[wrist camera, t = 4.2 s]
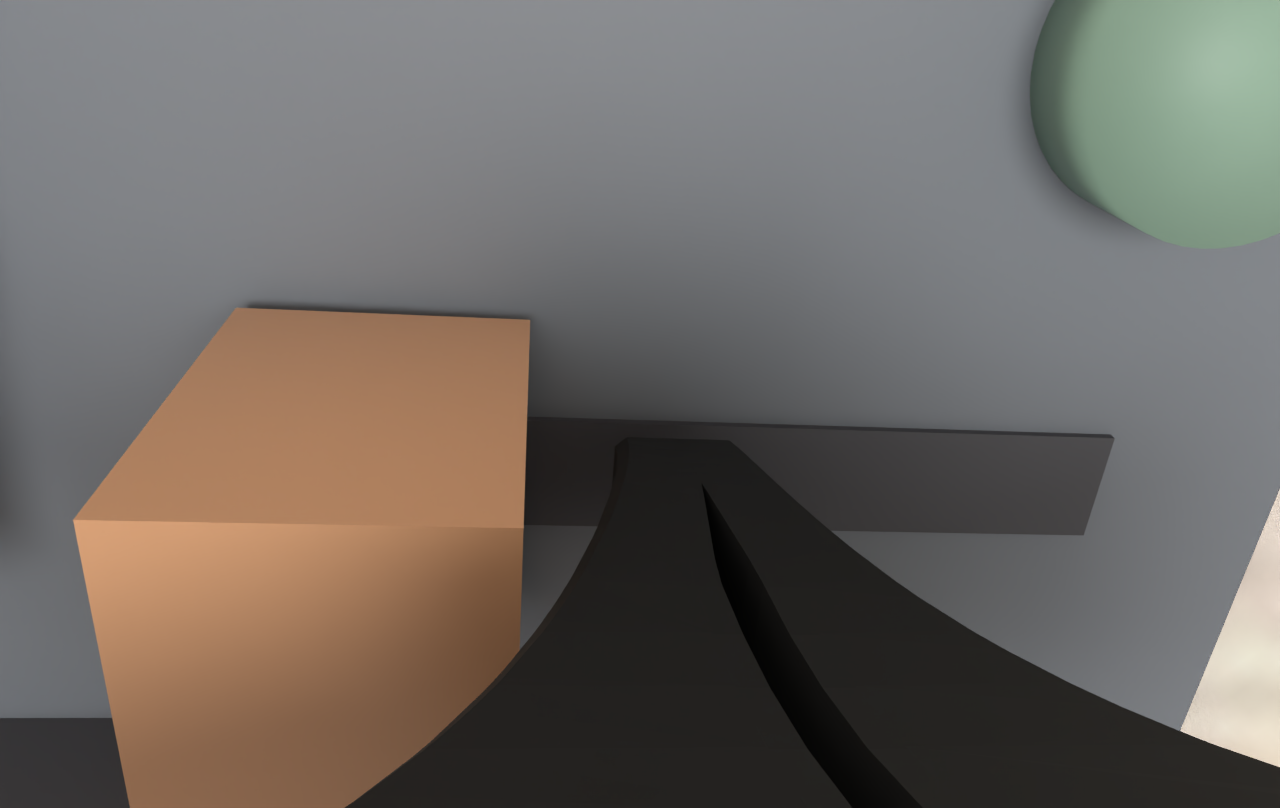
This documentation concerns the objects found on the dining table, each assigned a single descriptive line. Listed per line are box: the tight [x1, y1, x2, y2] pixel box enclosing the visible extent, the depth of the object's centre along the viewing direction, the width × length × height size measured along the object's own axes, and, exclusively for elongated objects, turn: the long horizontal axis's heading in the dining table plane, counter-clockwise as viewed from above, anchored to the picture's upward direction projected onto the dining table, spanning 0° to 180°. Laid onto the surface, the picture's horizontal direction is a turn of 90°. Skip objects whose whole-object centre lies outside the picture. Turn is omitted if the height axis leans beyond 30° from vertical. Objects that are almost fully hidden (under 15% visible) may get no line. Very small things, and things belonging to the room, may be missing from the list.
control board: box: [0, 0, 1280, 808], centre depth 12 cm, size 18×20×3 cm
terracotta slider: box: [73, 308, 530, 808], centre depth 10 cm, size 4×3×4 cm
